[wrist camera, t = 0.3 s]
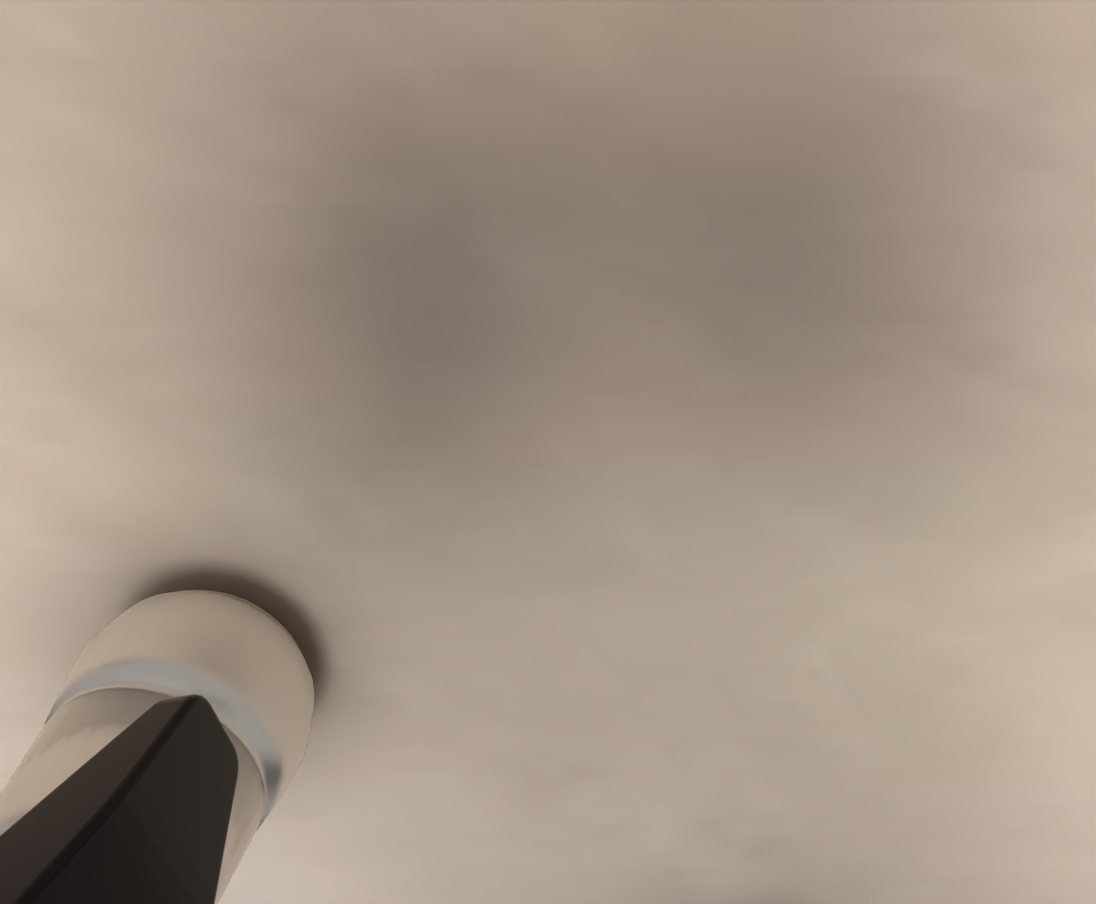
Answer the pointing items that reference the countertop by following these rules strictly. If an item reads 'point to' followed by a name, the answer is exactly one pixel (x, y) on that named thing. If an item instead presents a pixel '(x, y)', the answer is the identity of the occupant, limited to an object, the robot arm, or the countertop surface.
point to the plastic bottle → (177, 670)
